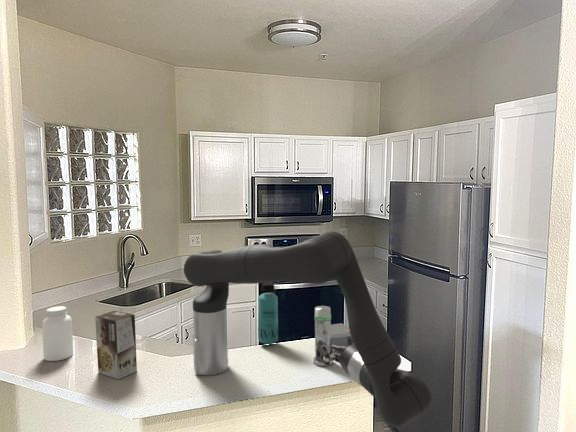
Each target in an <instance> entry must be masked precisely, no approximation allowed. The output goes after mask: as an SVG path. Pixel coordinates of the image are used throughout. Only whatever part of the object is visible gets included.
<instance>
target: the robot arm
mask: <svg viewBox="0 0 576 432" xmlns="http://www.w3.org/2000/svg"><path fill="white" fill-rule="evenodd" d="M183 265H184V266H183V274H184V276H185V278H186V280H187V281H188V282H189V284H191V285H193V286H196V287H203V286H206V287H205V289H204V290H203V291H202V292H201V293H199V294H198V295H196V297H195V298H193V301H192V319H193V320H192V324H193V334H192V342H193V343H192V351H193V353H192V354H193V355H192V356H193V369H194V374H195V375H196V376H200V375H201V376H215V375H219V374H222V373H224V372H226V371H227V370H228V367H229V358H228V357H229V355H228V354H229V351H228V346H229V345H228V317H227V316H228V315H227V314H228V313H227V312H228V307H227V302H228V300H229V299H228V298H229V291H230V290H229V289H230V288H229V287H230V284H247V285H248V284H249V285H250V284H251V285H252V284H264V283H278V282H294V283H305V284H313V285H317V284H324V283H327V282H329V281H331V280H333V279H334V280H335V282H337V284H338V286H339V288H340V290H341V292H342V295H343V297H344V302H345V303H344V304H345V307H346V315H347V322H348V328H349V330H350V334H351V336H348V345H350V346H337V345H331V346H329V345H326V344H325V343H324V342H323V341H322V340H319V341H318V342H317V347H316V349H317V355H316V357H317V358H318V359H320V360H321V361H322V362H323V363H324V364H325V365H330V361H333V362H334V361H335V363H338V364H340V366H341V368H342V370H343V371H344V372H345V373H346V374H347V375H348V376H349V377H350V378H352V380H354V381H355V383H357V384H358V385H360V386H361V387H362V388H364V389H365V390H366V391H367V392H368V393H369V394H370V395H371V396H372V397H374V399H375V402H376V403H375V404H376V406H377V410H378V412H379V414H380V416H381V418H382V420H383V421H384V422H385V423H386V424H387V425H388V426H391V427H393V428H396V429H397V428H398V429H399V428H402V427H404V426H406V425H407V424H409V422H411V421H412V420H414V419H416V418H417V417H418V416H420V415H421V414H423V413H424V412H426V411H427V410H428V409H429V408H430V407H431V405H432V404H433V403H432V402H433V395H432V392H431V388H430V387H429V386H428V384H427V383H426V382H425V380H423V379H422V378H421V377H419V376H418V375H417V374H415V373H413V372H410V371H408V370H403V369H399V367H400V366H401V363H402V358H401V355H400V353H399V351H398V349H397V348H396V346H395V344H394V342H393V339H392V338H391V336H390V335H389V333H388V331H387V330H386V328H385V326H384V324H383V322H382V319H381V318H380V316H379V313H378V312H377V309H376V307H375V305H374V302H373V299H372V297H371V294H370V292H369V288H368V286H367V283H366V281H365V278H364V276H363V273H362V271H361V268H360V265H359V262H358V260H357V257H356V254H355V252H354V250H353V247H352V245H351V243H350V242H349V241H348V239H347V237H345V236H344V235H343V234H342V233H340V232H338V231H327V232H325V233H321V234H319V235H317V236H313V237H311V238H309V239H306V240H305V241H303V242H299V243H297V244H294V245H290V246H288V245H287V246H284V247H276V246H273V245H271V244H268V243H265V244H264V243H258V244H249V245H245V246H241V247H235V248H233V249H231V248H230V249H228V250H224V251H222V250H218V249H214V250H206V251H197V252H194V253H192V254H190V255H189V256H188V257H187V258H186V260H185V262H184V264H183ZM327 349H329V352H327ZM334 349H337V350H336V352H335V353H334Z"/></svg>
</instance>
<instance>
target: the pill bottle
mask: <svg viewBox="0 0 576 432" xmlns="http://www.w3.org/2000/svg"><path fill="white" fill-rule="evenodd" d="M45 313H46V317H45V318H44V319H43V321H42V322H41V323H42V324H41V327H42V328H41V329H42V352H43V354H42V355H43V359H44V360H45V361H46V362H47V361H48V362H58V361H62V360H65V359H68V358H70V357H71V356H73V354H74V341H73V320H72V319H73V318H72V317H71V315H68V312H67V307H66V306H62V305H61V306H60V305H58V306H52V307H49V308H47V309H46V311H45Z"/></svg>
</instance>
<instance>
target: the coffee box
mask: <svg viewBox="0 0 576 432" xmlns="http://www.w3.org/2000/svg"><path fill="white" fill-rule="evenodd" d="M135 316H136V315H135V314H134V313H130V312H129V313H128V312H122V311H117V310H112V311H109V312H105V313H102V314H100V315H96V316H94V319H95V321H94V322H95V335H96V338H95V339H96V353H97V355H96V356H97V373H98V374H100V375H105V376H108V377H110V378H113V379H116V380H121V379H122V378H125V377H127V376H129V375H132V374H133V373H136V372H137V371H138V368H137V366H138V364H137V363H138V362H137V340H136V339H137V338H136V317H135Z"/></svg>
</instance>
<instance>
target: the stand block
mask: <svg viewBox="0 0 576 432" xmlns="http://www.w3.org/2000/svg"><path fill="white" fill-rule="evenodd" d="M348 336H351V334H350V330H349V326H347V325H345V324H344V323H334V324H332V323H331V345H337V346H350V345H348ZM336 350H337V349H334V353H335V352H336Z"/></svg>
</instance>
